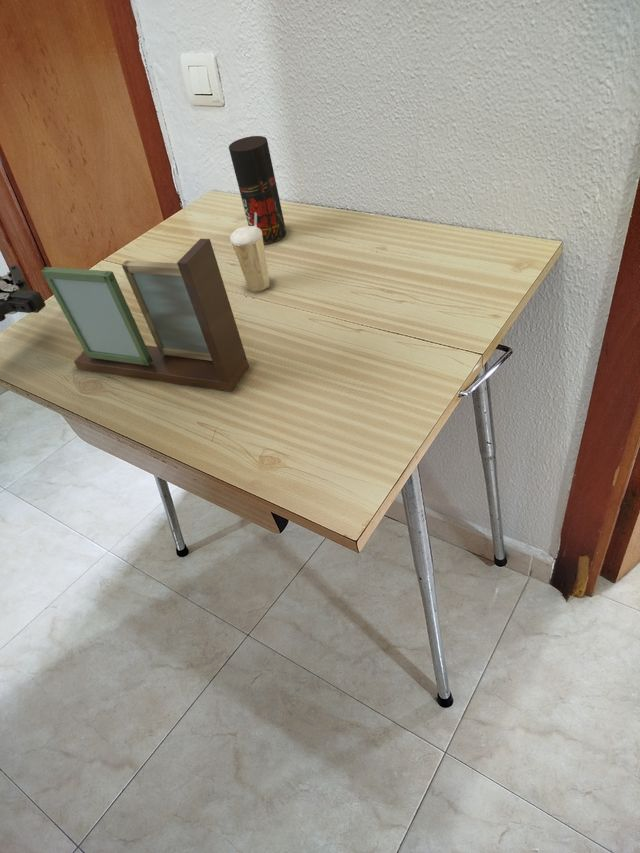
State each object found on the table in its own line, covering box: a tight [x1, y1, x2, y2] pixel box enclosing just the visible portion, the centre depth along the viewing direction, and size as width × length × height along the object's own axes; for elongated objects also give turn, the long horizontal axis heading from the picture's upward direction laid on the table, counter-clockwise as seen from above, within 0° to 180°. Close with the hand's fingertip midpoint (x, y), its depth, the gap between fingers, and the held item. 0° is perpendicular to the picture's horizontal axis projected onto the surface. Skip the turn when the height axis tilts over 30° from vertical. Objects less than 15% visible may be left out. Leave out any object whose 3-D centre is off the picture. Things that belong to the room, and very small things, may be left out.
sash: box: [40, 266, 153, 366], centre depth 72 cm, size 10×1×13 cm, turn 68°
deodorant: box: [228, 135, 287, 245], centre depth 94 cm, size 6×6×15 cm
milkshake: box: [229, 213, 270, 293], centre depth 85 cm, size 5×5×10 cm
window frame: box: [73, 238, 250, 393], centre depth 71 cm, size 24×5×17 cm, turn 68°
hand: (39, 302), depth 75 cm, fingers closed
